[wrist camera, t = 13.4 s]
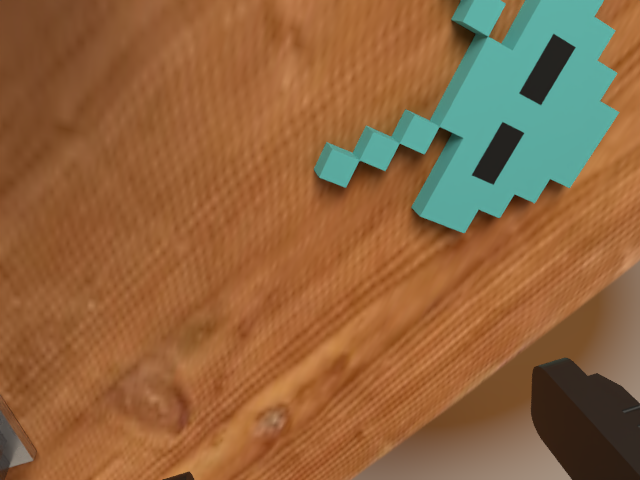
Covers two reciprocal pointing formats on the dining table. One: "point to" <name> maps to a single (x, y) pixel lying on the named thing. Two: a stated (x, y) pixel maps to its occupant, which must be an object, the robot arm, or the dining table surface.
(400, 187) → the dining table surface
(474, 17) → the alien figure
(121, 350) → the dining table surface
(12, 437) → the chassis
